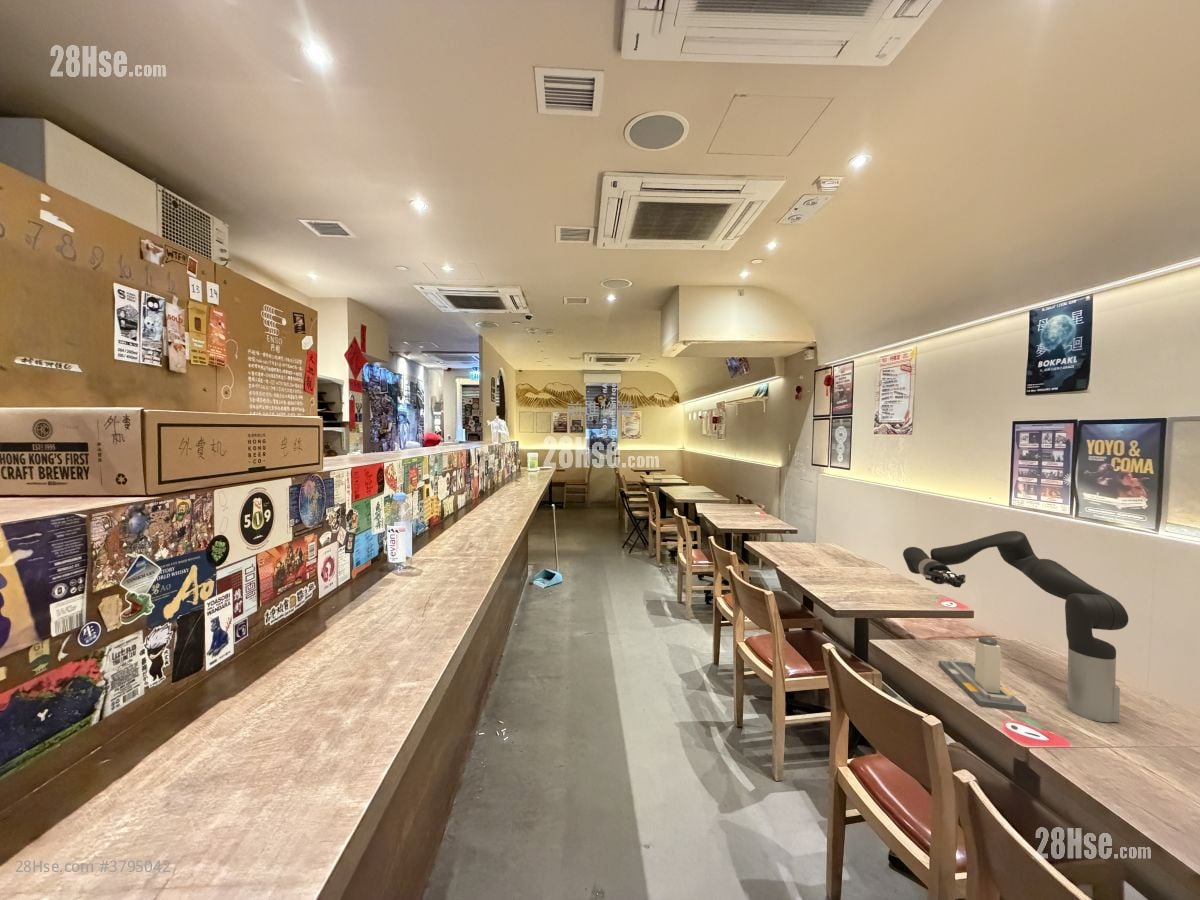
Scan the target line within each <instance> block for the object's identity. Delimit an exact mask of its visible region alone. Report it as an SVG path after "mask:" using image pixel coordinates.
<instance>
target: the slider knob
mask: <svg viewBox="0 0 1200 900" xmlns="http://www.w3.org/2000/svg"><path fill="white" fill-rule="evenodd" d="M974 647H975V650H974V651H975V653H974V654H975V659H974V664H975V682H976V683H977V684H978V685H979V686H980V687H981V688H982V689H983V690H985V691H986V692H990V693H999V694H1000V685H1001V656H1002V655H1001V650H1002V649H1001V646H1000V645H998V640H997V639H996V638H993V637H989V636H984V635H981V636H978V637H977V638H975V646H974Z"/></svg>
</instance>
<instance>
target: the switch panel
mask: <svg viewBox="0 0 1200 900" xmlns="http://www.w3.org/2000/svg"><path fill="white" fill-rule="evenodd" d="M938 666H939V667H940V668H941V669H942V670H943V671H944V672H945V673H946V674H947V675H948V676H949V677H950V678H951V679H952V680H953V681H954V682H955V683H957V685H958V686H959V687H960V688H961V689H962V690H963V691H964V692H966V694H967V695H969V696H970V698H971V699H972V700H973V701H974V702H975V703H976V704H977V705H978V706H979V707H982V708H991V709H998V710H1000V709H1001V710H1008V711H1016V712H1025V713H1026V712H1027V705H1025V704H1024V703H1023V702H1021V701H1020V700H1019V699H1018V698H1017V697H1016V696H1014V694H1013V693H1011V692H1010V691H1009V690H1008V689H1007V688H1005V687H1004V686H1003V685H1001V684H1000V694H999V693H990V692H986V691H985V690H983V689H982V688H981V687H980V686H979V685H978V684H977V683H976V682H975V663H973V662H971V661H968V660H962V659H948V660H947V661H946V660H938Z"/></svg>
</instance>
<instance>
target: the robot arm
mask: <svg viewBox="0 0 1200 900" xmlns="http://www.w3.org/2000/svg"><path fill="white" fill-rule="evenodd" d="M1029 541H1030V540H1029V539H1028V537H1027V536H1026V534H1025V533H1024V532H1021V531H1019V530H1008V531H1002V532H997V533H994V534H990V535H988V536H983V537H980V538H978V539H973V540H970V541H967V542H962V543H959V544H954V545H949V546H948V545H947V546H942V547H935V548H931V550H930V557H929V555H928V554H927V553H926V552H925V551H924V550H923V549H922V548H919V547H916V546H909V547H906V548H905V549H904V550H903V552H902V557H903V559H904V561H905V563H906V566H907V568H908V570H909V572H911V573H912V574H915V575H916V574H917V575H921V576H923V577H924V578H925V581H926V580H927V581H931V583H933V584H936V585H947V586H949V585H950V586H952V587H954V588H961V587H962V585H963V584H965V583H966V578H967V577H966V574H959V575H957V573H955V572H952V571H951V569H950V568H949V567H948V566H952V565H959V564H964V563H965V562H967V561H968V560H970V559H972V558H973V557H974V556H975V555H977V554H978V553H979V552H982V551H984V550H987V549H990V548H995V547H996V548H997V551H998V553H999V554H1000V556H1001V558H1002V560H1003V561H1004V562H1005V563H1006V564H1008V565H1010V566H1012V567H1013V568H1015V569H1016V570H1019V571H1020V572H1021V573H1023V575H1025V576H1026V577H1027V578H1028V579H1029V580H1030V581H1032V582H1033V583H1034V584H1035V585H1037V587H1039V588H1040V589H1042V590H1043V591H1044V592H1045V593H1047V594H1050V595H1051V596H1054V597H1056V598H1060V599H1062V600H1065V603H1064V612H1065V631H1066V638H1067V643H1068V645H1067V647H1068V648H1067V649H1068V650H1067V655H1068V656H1067V699H1066V701H1067V702H1066V703H1067V704H1066V705H1067V709H1068V710H1069V711H1070V712H1072V713H1074V714H1076V715H1078V716H1079V717H1082V718H1086V719H1087V720H1091V721H1096V722H1099V723H1120V700H1121V699H1120V698H1121V697H1120V694H1121V692H1120V691H1121V689H1120V688H1121V687H1120V686H1119V685H1117V683H1116V682H1117V681H1116V680H1117V679H1116V676H1117V675H1116V672H1117V671H1116V670H1117V669H1116V667H1117V666H1116V665H1117V663H1116V662H1117V649H1116V647H1115V646H1114V645H1113V644H1112V643H1109V642H1108V641H1105V640H1102V639H1100V638H1098V637H1095V636H1094V635H1093V630H1102V631H1103V630H1104V631H1118V630H1122V629H1124V628H1125V627H1126V626H1127V625H1128V623H1129V614H1128V613H1127V610H1126V608H1125V606H1124V605H1123V604H1121V602H1120V601H1118V600H1117V598H1115V597H1113V596H1112V595H1110V594H1107V593H1106V592H1104V591H1102V590H1100V589H1098V588H1096V587H1094V586H1092V585H1091V584H1089V583H1087V582H1086V581H1085V580H1083V579H1082V578H1081V577H1078V576H1077V575H1076V574H1074V573H1072V572H1071V571H1070V570H1069V569H1067V568H1066V567H1064V566H1063V565H1062V564H1060V563H1058V562H1057V561H1056V560H1052V559H1048V558H1039V557H1038V556H1037V555H1036V554H1035V552H1034V550H1033V548H1032V546H1031V543H1030V542H1029Z"/></svg>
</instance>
